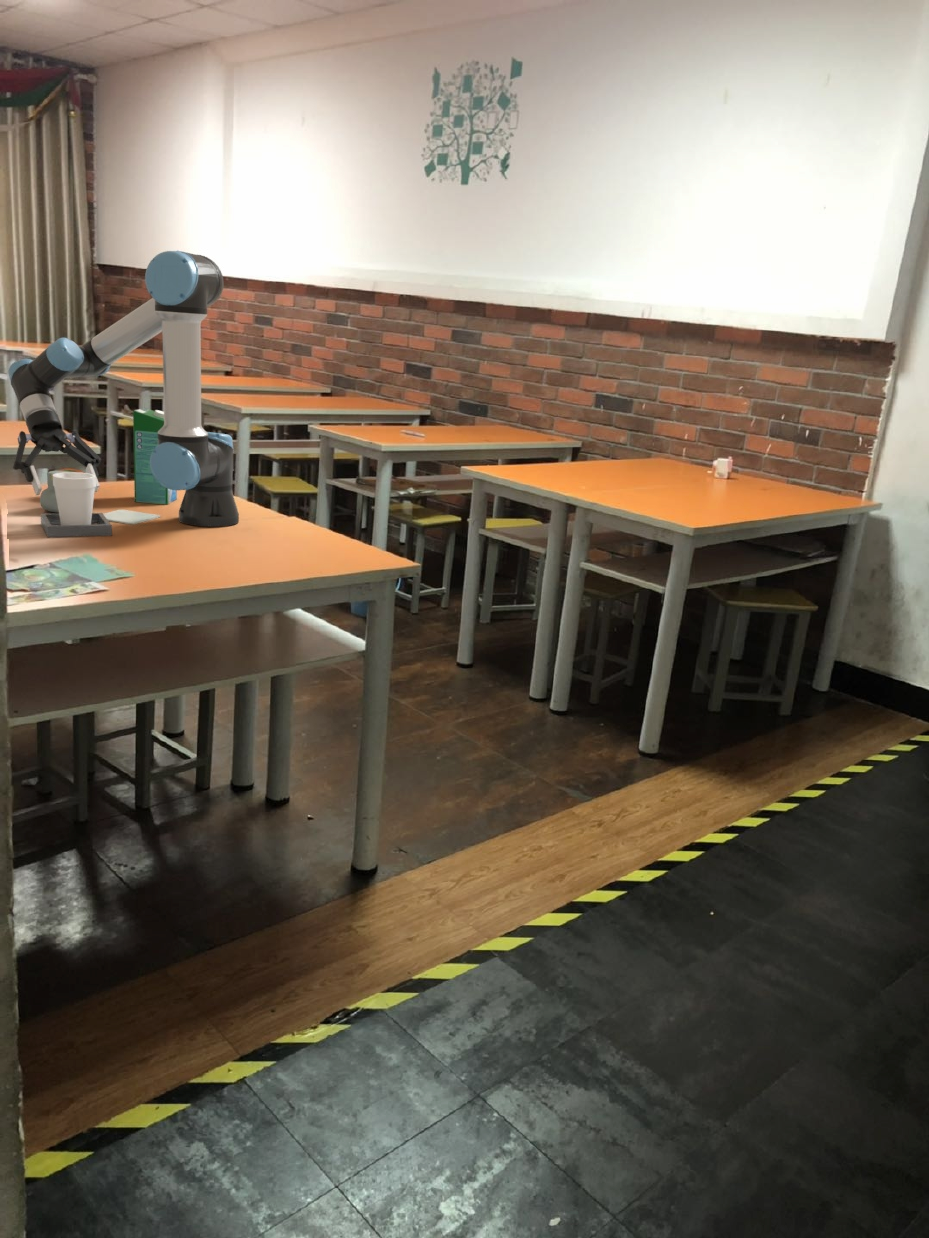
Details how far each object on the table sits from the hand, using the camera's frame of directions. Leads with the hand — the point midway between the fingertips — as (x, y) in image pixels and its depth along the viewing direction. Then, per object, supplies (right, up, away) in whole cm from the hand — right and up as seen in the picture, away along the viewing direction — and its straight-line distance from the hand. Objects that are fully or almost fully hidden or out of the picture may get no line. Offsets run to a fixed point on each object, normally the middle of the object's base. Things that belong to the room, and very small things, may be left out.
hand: (68, 490), depth 227 cm
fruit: (-14, +2, +35) cm, 37 cm away
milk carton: (+7, +3, +42) cm, 43 cm away
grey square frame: (+1, -9, +2) cm, 9 cm away
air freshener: (-10, -3, +20) cm, 22 cm away
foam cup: (+1, -9, +2) cm, 10 cm away
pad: (+7, -4, +19) cm, 20 cm away
